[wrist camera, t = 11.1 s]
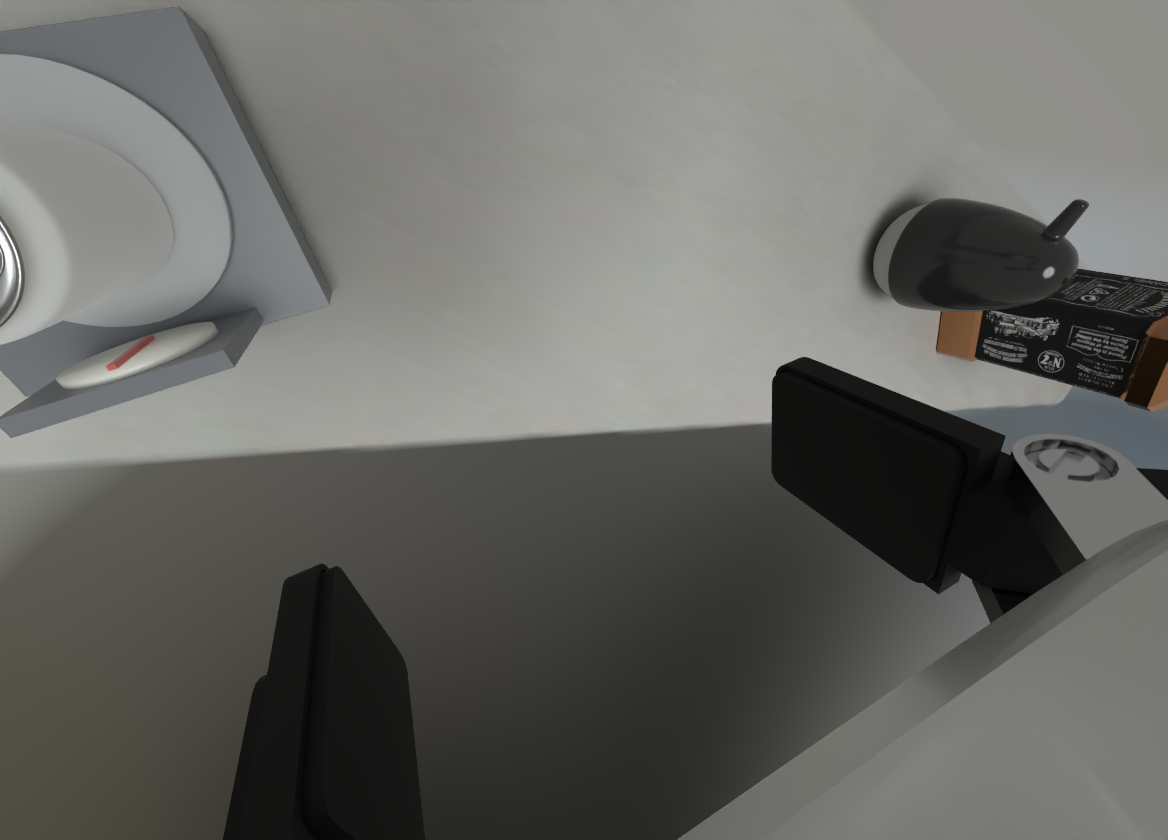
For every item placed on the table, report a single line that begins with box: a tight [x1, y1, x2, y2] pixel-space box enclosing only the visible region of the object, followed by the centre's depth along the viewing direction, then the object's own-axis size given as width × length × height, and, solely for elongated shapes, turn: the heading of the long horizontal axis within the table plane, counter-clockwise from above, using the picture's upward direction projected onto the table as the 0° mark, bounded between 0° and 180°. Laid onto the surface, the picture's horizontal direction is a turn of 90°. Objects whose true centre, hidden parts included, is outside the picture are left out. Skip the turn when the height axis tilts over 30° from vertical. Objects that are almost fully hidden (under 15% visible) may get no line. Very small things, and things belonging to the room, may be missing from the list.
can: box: [0, 122, 174, 345], centre depth 17 cm, size 6×6×12 cm
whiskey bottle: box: [937, 269, 1168, 412], centre depth 46 cm, size 10×10×32 cm
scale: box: [0, 6, 332, 438], centre depth 21 cm, size 14×15×12 cm
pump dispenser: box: [873, 198, 1089, 312], centre depth 44 cm, size 10×10×15 cm
